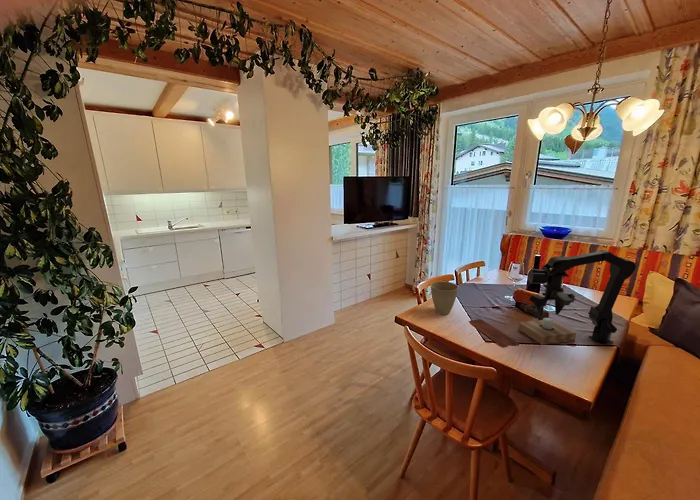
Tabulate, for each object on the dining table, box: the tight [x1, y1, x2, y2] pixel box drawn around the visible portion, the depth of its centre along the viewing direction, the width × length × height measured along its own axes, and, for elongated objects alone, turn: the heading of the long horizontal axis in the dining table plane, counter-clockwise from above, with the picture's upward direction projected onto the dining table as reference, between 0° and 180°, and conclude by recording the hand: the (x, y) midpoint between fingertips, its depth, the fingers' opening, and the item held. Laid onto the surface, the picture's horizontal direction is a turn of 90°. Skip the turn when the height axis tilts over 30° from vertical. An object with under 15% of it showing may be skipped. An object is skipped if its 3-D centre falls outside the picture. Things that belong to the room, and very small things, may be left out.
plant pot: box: [430, 280, 460, 316], centre depth 163 cm, size 15×15×16 cm
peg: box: [542, 318, 554, 330], centre depth 139 cm, size 4×4×8 cm
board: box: [518, 319, 577, 346], centre depth 139 cm, size 18×14×4 cm
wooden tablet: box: [468, 318, 520, 348], centre depth 143 cm, size 27×10×2 cm, turn 14°
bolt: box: [519, 303, 550, 320], centre depth 160 cm, size 6×5×15 cm
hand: (548, 315), depth 137 cm, fingers open, 9 cm apart
